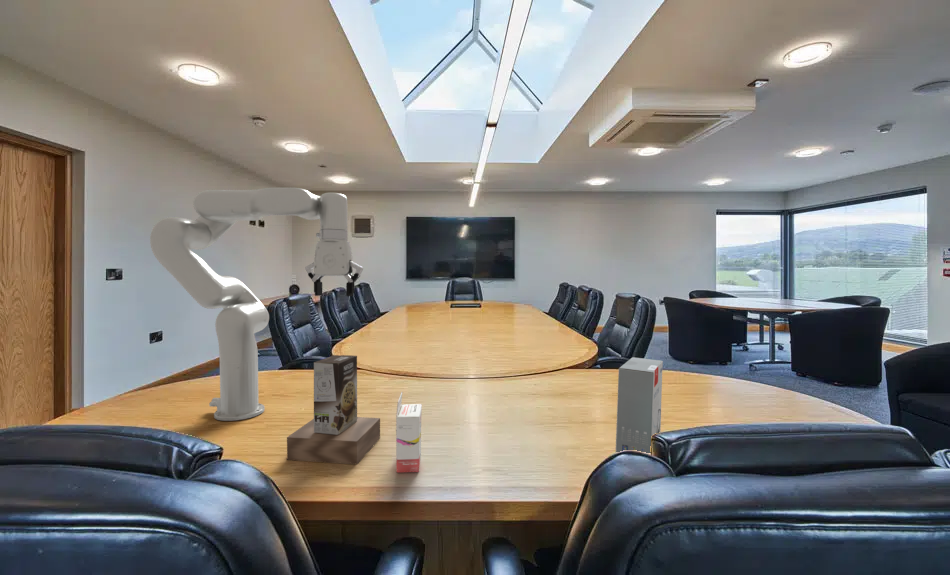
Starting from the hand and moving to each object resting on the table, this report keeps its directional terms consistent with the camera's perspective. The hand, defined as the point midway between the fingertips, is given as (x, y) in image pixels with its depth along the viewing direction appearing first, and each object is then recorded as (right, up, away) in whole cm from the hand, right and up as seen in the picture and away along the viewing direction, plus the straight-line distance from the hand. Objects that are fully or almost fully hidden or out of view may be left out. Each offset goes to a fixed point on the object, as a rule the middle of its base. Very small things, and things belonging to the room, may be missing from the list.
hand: (334, 295), depth 119 cm
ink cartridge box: (+27, -36, -31) cm, 54 cm away
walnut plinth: (+9, -35, -23) cm, 43 cm away
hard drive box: (+80, -36, -21) cm, 90 cm away
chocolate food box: (+9, -30, -24) cm, 39 cm away
